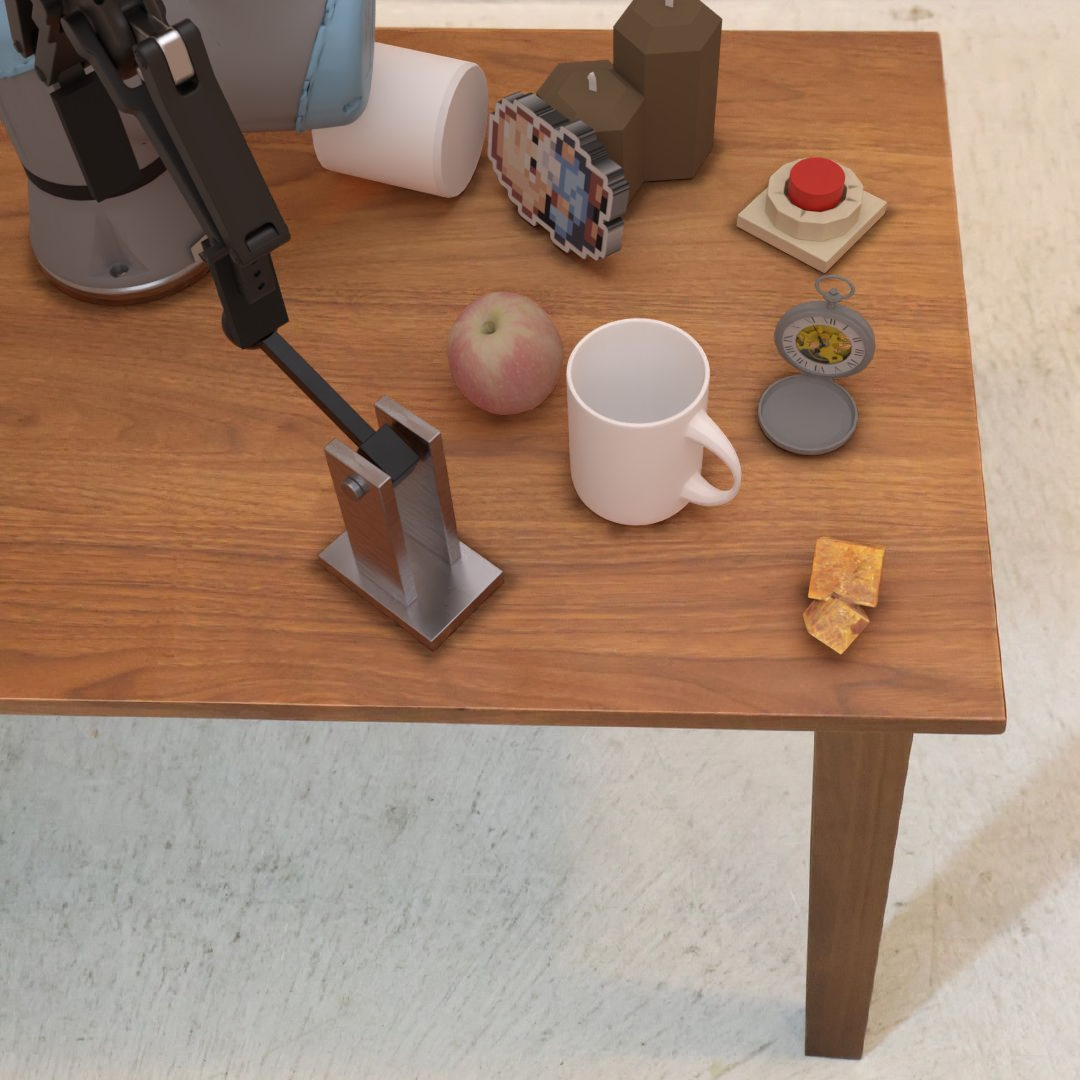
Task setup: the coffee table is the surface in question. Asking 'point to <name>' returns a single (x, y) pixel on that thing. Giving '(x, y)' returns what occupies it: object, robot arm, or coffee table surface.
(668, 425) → the mug
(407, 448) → the lever
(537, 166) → the toy
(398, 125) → the white cylinder
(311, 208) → the coffee table surface
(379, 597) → the bracket
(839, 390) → the pocket watch
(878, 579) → the pyrite
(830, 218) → the housing
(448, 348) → the apple
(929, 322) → the coffee table surface
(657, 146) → the candle
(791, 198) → the button
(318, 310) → the coffee table surface
